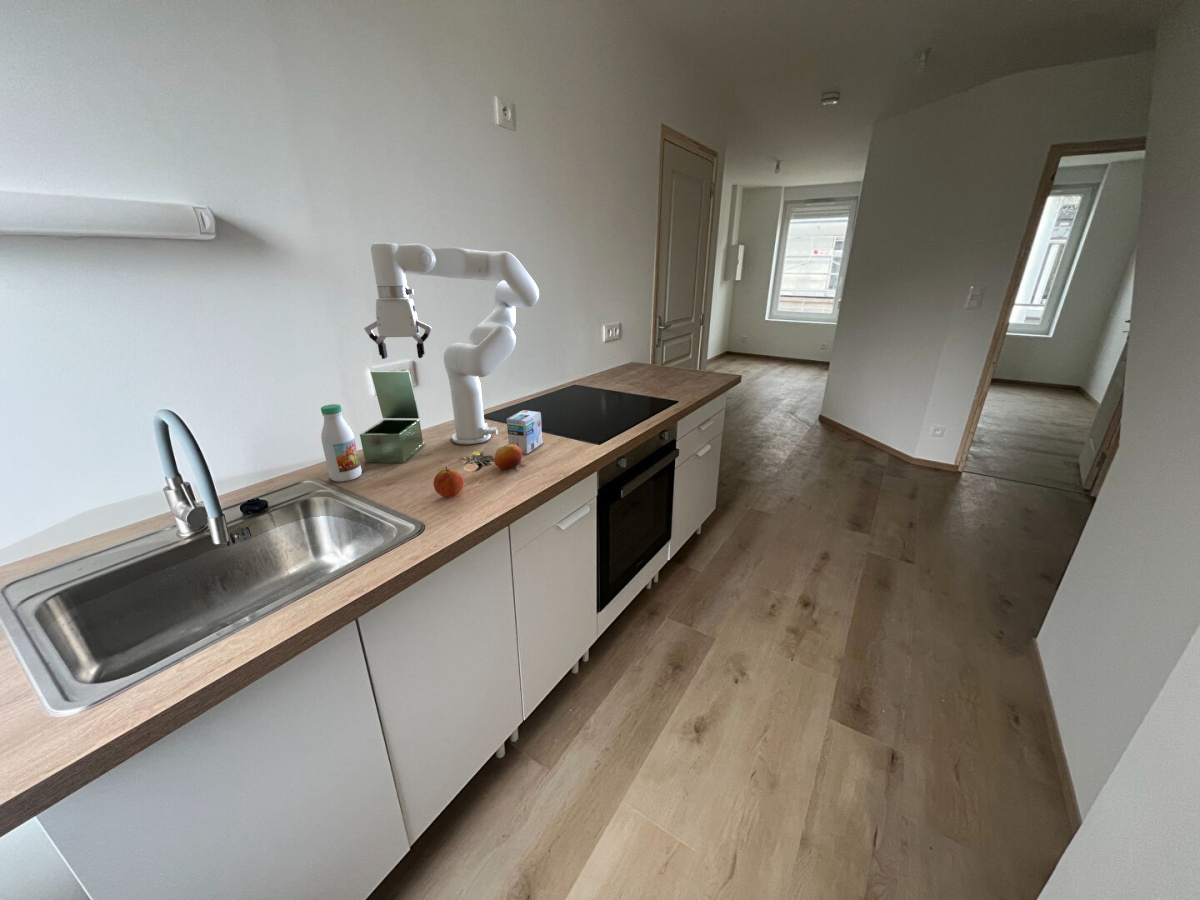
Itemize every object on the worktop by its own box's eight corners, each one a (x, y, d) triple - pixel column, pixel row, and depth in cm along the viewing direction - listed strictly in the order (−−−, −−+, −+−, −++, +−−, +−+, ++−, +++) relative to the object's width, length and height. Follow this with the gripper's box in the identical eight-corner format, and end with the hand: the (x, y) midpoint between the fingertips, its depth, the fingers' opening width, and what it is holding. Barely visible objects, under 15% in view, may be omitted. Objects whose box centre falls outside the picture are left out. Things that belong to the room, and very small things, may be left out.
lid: (408, 372, 135) (414, 366, 139) (370, 372, 135) (377, 366, 140) (418, 418, 143) (424, 412, 147) (382, 418, 143) (389, 412, 147)
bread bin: (404, 462, 133) (399, 434, 130) (365, 462, 133) (359, 434, 130) (423, 445, 146) (419, 419, 143) (388, 445, 147) (383, 419, 143)
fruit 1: (438, 490, 116) (434, 461, 113) (466, 488, 117) (463, 460, 114) (433, 503, 109) (428, 473, 106) (462, 501, 110) (458, 471, 107)
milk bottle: (329, 484, 119) (311, 411, 112) (332, 473, 126) (315, 404, 119) (361, 479, 122) (346, 408, 115) (363, 468, 129) (348, 400, 121)
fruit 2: (523, 469, 124) (507, 445, 122) (501, 481, 127) (485, 457, 125) (533, 458, 131) (518, 435, 130) (512, 469, 134) (497, 447, 132)
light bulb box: (527, 454, 138) (525, 421, 135) (508, 451, 141) (505, 418, 137) (543, 443, 148) (541, 411, 144) (525, 440, 150) (522, 409, 146)
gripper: (429, 293, 126) (437, 355, 132) (363, 293, 123) (374, 356, 129) (424, 294, 119) (432, 359, 125) (353, 294, 116) (365, 360, 122)
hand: (402, 357), depth 127 cm, fingers open, 9 cm apart
